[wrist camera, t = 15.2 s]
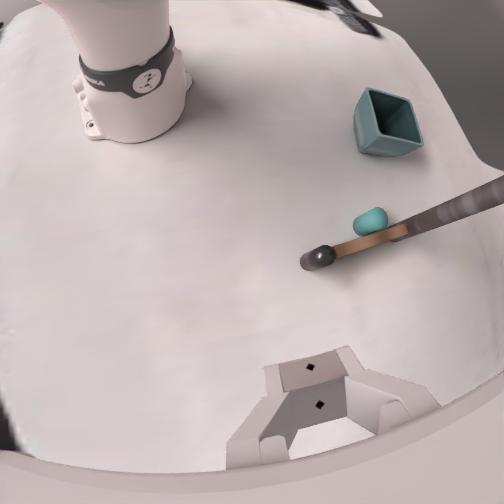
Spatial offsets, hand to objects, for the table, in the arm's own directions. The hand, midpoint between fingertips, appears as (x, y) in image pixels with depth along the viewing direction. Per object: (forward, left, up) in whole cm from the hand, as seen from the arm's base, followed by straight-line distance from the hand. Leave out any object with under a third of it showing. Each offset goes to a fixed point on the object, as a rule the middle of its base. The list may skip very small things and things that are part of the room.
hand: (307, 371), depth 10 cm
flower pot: (-9, +35, -29) cm, 46 cm away
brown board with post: (+3, +21, -28) cm, 35 cm away
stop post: (+1, +23, -28) cm, 37 cm away
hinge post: (0, +13, -28) cm, 31 cm away
